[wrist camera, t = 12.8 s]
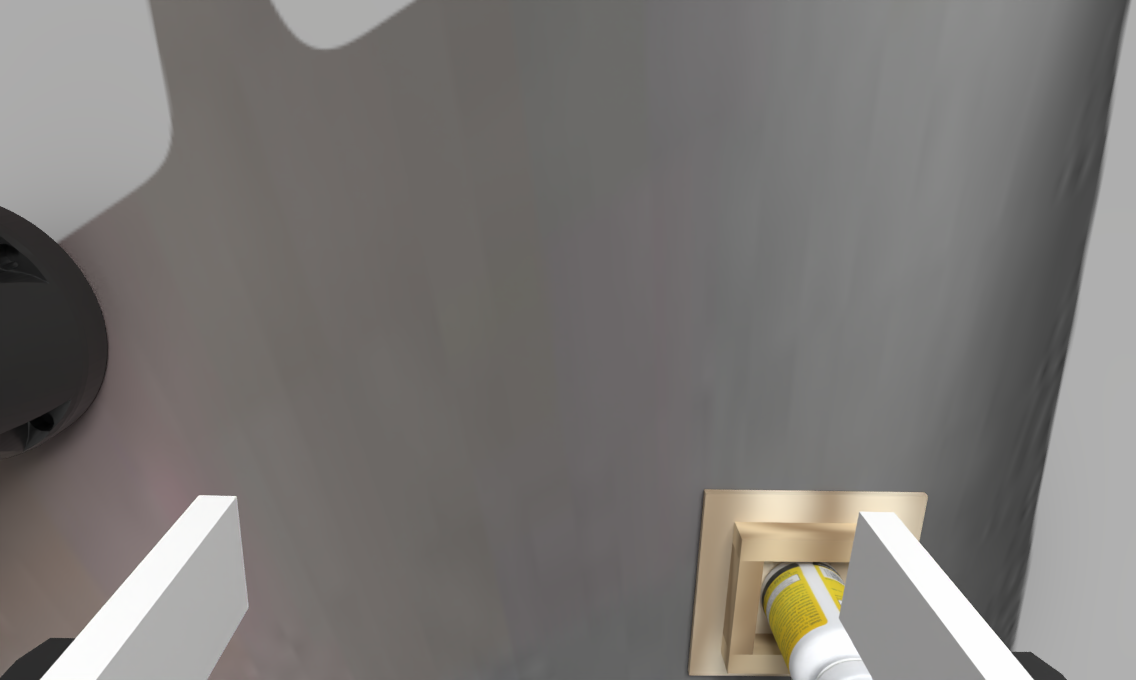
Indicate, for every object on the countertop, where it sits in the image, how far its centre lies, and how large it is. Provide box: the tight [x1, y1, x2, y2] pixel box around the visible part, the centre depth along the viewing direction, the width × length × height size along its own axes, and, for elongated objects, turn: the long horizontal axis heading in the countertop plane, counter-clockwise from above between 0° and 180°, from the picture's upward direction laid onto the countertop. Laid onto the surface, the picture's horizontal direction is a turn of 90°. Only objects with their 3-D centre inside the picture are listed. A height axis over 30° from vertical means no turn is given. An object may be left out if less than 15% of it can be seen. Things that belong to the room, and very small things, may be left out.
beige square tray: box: [688, 489, 928, 676], centre depth 48 cm, size 14×14×2 cm
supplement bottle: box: [760, 562, 873, 680], centre depth 44 cm, size 5×5×10 cm
